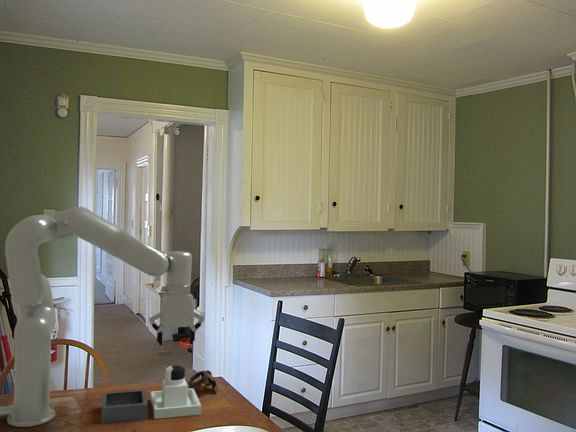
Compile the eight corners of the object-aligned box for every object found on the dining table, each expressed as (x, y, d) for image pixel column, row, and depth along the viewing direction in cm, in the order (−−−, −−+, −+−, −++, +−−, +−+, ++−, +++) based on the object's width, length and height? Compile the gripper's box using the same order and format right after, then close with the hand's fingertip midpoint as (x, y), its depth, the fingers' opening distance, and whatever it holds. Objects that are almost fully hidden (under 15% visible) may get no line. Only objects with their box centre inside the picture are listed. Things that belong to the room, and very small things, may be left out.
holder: (101, 423, 149) (101, 408, 149) (102, 407, 162) (102, 392, 161) (147, 419, 153) (147, 404, 153) (144, 403, 166) (145, 389, 166)
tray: (154, 419, 154) (154, 409, 154) (150, 400, 169) (150, 391, 169) (200, 414, 158) (201, 405, 158) (193, 396, 173) (193, 388, 173)
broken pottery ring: (217, 398, 173) (206, 379, 172) (193, 408, 175) (182, 389, 173) (223, 378, 185) (212, 360, 183) (200, 388, 186) (189, 369, 185)
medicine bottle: (183, 399, 168) (184, 363, 168) (187, 407, 161) (188, 369, 161) (161, 401, 166) (162, 364, 165) (163, 409, 159) (165, 371, 159)
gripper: (151, 292, 157) (148, 348, 157) (207, 292, 162) (204, 346, 162) (149, 288, 164) (146, 341, 164) (203, 288, 170) (200, 340, 170)
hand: (175, 343), depth 163 cm, fingers open, 9 cm apart
